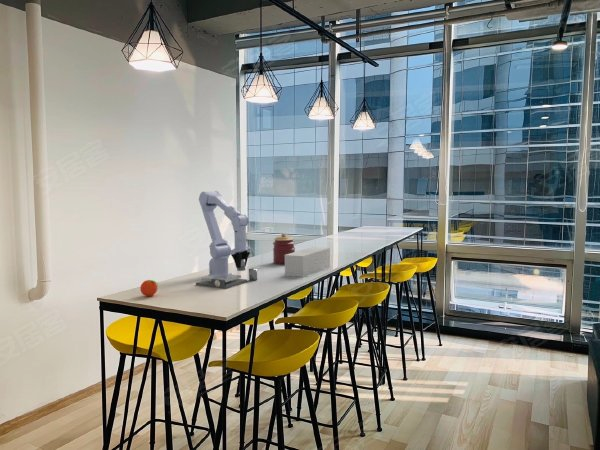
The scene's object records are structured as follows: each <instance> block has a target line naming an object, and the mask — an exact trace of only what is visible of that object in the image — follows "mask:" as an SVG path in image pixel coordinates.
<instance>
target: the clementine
mask: <svg viewBox="0 0 600 450" xmlns="http://www.w3.org/2000/svg"><path fill="white" fill-rule="evenodd" d="M158 286H159V285H158V283H157V282H156V281H155V280H152V279H148V280H146V279H145V280H144V281H143V282H142V283H141V285H140V289H139V290H140V292H141V294H142V295H143V296H145V297H152V296H154V295H155V294H156V293H157V292H158Z"/></svg>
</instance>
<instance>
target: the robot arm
mask: <svg viewBox="0 0 600 450" xmlns="http://www.w3.org/2000/svg"><path fill="white" fill-rule="evenodd" d="M198 202H199V205H200V207H201V211H202V214H203V217H204V220H205V223H206V226H207V230H208V233H209V236H210V239H211V243H210V244H209V246H208V247H209V254H210V257H211V259H210V260H209V263H208V266H209V267H208V269H209V271H208V272H209V274H208V276H210V275H214V274H217V273H220V274H230V275H233V273H231V272H229V258H230V256H231V257H232V259H233V261H234V264H235V267H236V269H237V268H240V267H241V258H244V259H245V267H247V263H248V259H249V256H250V255H251V251H252V248H251V247H252V246H247V226H249V225H248V224H249V217H248V216H247V215H246V214H242V213H241V212H240V211H238V210H237V209H236V208H235V206H233V205H229V204H228V203H227V202H226V201H225V200H224V198H222V194H221V193H220V192H219V191H217V190H215V191H201V192H200V194H199V197H198ZM217 207H219V208H220V209H221V210H223V211H224V212H223V214H224V216H226V218H228V219H229V221H231V222H230V223H231V226H232V229H233V231H234V232H233V234H234V248H233V249H232V248H231V246H230V245H229V243H228V240H225V238H223V236H222V233H221V231H220V227H219V224H218V221H217V217H216V216H215V215H216V214H215V212H214V210H215V209H216V208H217Z"/></svg>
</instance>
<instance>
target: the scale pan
mask: <svg viewBox="0 0 600 450" xmlns="http://www.w3.org/2000/svg"><path fill="white" fill-rule="evenodd" d="M211 279H221V280H225V282H229V281H232V280H235V279H242V275H238V274H231V275H230V274H220V273H217V274H214V275H210V276H209V275H207V276H203V277H201V281H203V280H208V281H211Z"/></svg>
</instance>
